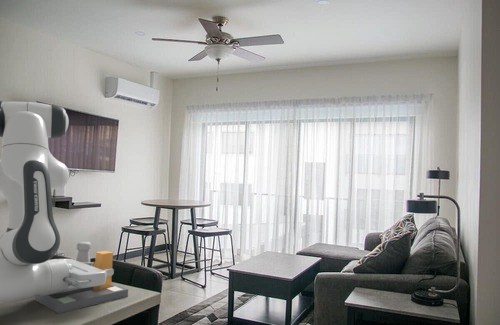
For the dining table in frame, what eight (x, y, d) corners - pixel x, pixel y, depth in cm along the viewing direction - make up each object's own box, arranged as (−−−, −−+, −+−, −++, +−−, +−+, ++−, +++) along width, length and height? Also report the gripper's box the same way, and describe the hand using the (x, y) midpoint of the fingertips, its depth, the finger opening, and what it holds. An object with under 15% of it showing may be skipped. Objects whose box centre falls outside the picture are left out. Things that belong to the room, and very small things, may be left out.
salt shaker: (83, 286, 118) (86, 244, 119) (67, 284, 119) (70, 242, 120) (94, 281, 124) (97, 241, 124) (79, 279, 125) (82, 240, 126)
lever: (93, 289, 112) (95, 252, 112) (104, 287, 114) (106, 250, 115) (99, 292, 110) (102, 254, 110) (110, 290, 112) (113, 252, 113)
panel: (34, 299, 104) (34, 291, 104) (101, 285, 120) (102, 278, 120) (58, 313, 95) (58, 304, 95) (127, 296, 111) (128, 288, 111)
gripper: (75, 271, 95) (124, 263, 106) (40, 257, 108) (86, 251, 119) (74, 297, 95) (122, 286, 106) (38, 280, 108) (85, 272, 119)
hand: (103, 268), depth 112 cm, fingers open, 8 cm apart
